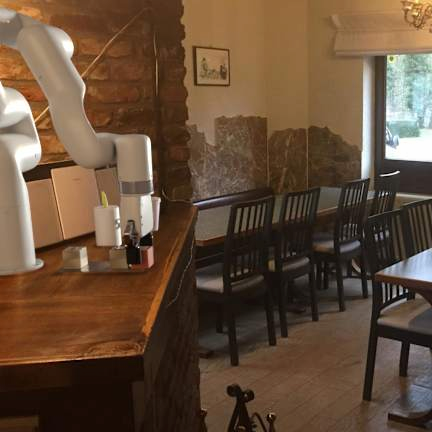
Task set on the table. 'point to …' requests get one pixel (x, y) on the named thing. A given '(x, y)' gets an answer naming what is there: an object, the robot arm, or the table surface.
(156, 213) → the smoothie
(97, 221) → the candle
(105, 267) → the letter board
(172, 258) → the table surface
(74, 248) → the tile
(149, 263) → the three-striped orange cube
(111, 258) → the tile
